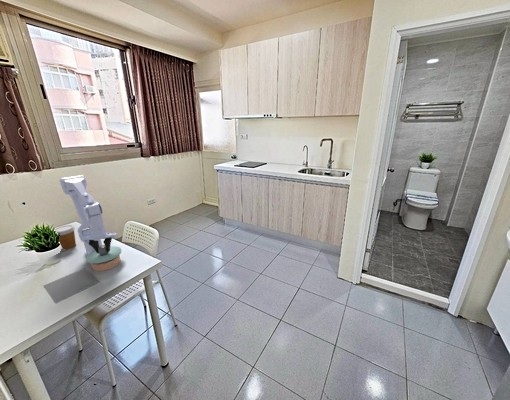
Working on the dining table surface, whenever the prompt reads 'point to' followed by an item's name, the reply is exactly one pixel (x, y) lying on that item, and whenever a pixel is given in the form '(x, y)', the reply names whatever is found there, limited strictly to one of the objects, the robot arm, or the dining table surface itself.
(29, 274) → the dining table surface
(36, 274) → the dining table surface
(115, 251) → the lid
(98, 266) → the bowl
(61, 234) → the disposable coffee cup
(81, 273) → the mat
